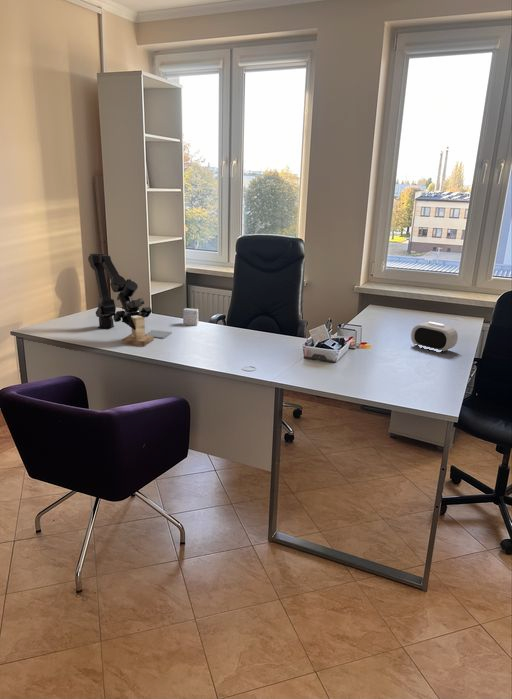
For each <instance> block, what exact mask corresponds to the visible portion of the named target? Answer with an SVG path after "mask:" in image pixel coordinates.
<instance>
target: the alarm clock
mask: <svg viewBox="0 0 512 699" xmlns="http://www.w3.org/2000/svg"><path fill="white" fill-rule="evenodd" d="M410 340H411V342H412V343H413V345H415V344H417V345H422V346H426V347H430V348H434V349H438V350H442V351H443V352H446V351H448V350H450V349H452V348H454V347H455V346H456V344H457V342H458V331H457V330H456V329H455V328H454V327H452V326H449V325H446V324H444V323H441V322H440V323H439V322H434V321H425V322H422V323H420V324H417V325H415V326H414V327H413V328H412V330H411V333H410Z"/></svg>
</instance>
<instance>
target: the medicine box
mask: <svg viewBox="0 0 512 699" xmlns="http://www.w3.org/2000/svg"><path fill="white" fill-rule="evenodd" d="M182 325H183V326H196V327H197V326H198V325H199V309H198V308H188V307H187V308H186V307H185V308H184V309H183V310H182Z"/></svg>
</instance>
